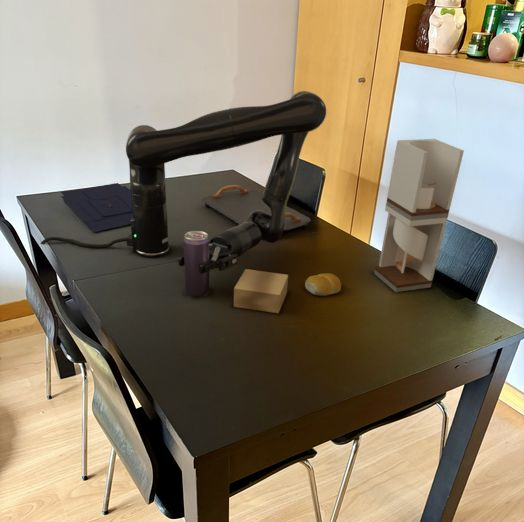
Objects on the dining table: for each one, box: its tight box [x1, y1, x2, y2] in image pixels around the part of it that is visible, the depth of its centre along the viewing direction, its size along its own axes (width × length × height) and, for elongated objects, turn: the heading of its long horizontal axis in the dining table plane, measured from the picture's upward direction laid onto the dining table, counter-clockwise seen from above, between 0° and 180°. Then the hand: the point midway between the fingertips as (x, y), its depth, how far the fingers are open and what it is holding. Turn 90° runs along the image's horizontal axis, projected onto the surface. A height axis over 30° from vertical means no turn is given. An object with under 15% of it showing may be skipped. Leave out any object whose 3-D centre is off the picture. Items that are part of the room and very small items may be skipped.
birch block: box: [233, 268, 289, 314], centre depth 133 cm, size 11×11×5 cm
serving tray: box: [201, 184, 311, 232], centre depth 180 cm, size 39×23×6 cm, turn 34°
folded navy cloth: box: [60, 182, 133, 233], centre depth 179 cm, size 24×30×4 cm
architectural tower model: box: [373, 138, 465, 293], centre depth 137 cm, size 11×11×35 cm
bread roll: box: [304, 272, 342, 297], centre depth 140 cm, size 8×9×4 cm
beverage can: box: [183, 230, 210, 298], centre depth 132 cm, size 6×6×15 cm
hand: (190, 266), depth 130 cm, fingers closed on beverage can, 6 cm apart
